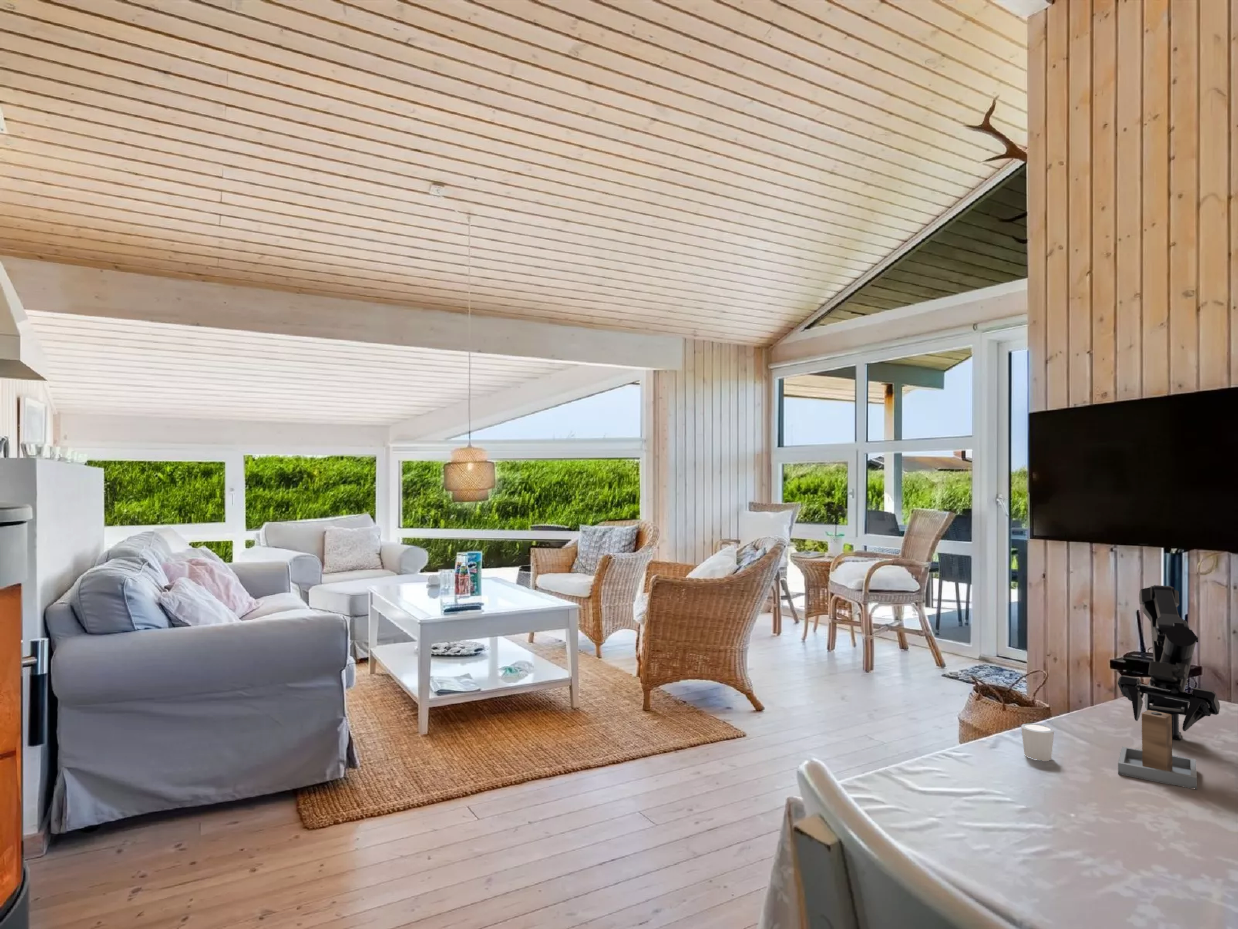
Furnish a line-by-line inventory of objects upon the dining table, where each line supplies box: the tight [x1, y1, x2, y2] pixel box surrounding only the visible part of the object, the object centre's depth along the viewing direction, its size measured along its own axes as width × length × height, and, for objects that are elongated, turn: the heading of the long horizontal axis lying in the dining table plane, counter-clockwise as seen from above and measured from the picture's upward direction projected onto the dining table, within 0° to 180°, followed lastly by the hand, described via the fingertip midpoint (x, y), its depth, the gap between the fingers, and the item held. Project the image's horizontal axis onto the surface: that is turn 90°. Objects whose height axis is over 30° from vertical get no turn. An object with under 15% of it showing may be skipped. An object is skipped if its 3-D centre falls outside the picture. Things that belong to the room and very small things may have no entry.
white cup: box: [1020, 723, 1055, 762], centre depth 178 cm, size 7×7×7 cm
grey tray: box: [1117, 745, 1198, 790], centre depth 168 cm, size 14×14×2 cm
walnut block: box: [1141, 710, 1173, 772], centre depth 169 cm, size 4×4×13 cm
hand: (1159, 724), depth 170 cm, fingers open, 9 cm apart
